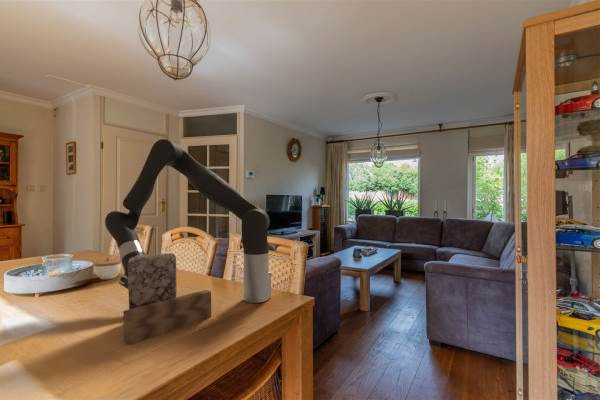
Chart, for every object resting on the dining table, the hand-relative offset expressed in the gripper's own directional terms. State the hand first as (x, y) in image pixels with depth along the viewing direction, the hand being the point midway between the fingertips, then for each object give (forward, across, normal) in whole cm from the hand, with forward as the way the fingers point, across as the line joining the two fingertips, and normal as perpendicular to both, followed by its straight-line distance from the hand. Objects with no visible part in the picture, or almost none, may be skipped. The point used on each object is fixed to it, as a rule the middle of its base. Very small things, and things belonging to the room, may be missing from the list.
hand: (147, 299), depth 97 cm
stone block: (+8, -1, -2) cm, 8 cm away
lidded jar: (-39, +6, +46) cm, 60 cm away
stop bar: (+15, 0, -8) cm, 17 cm away
